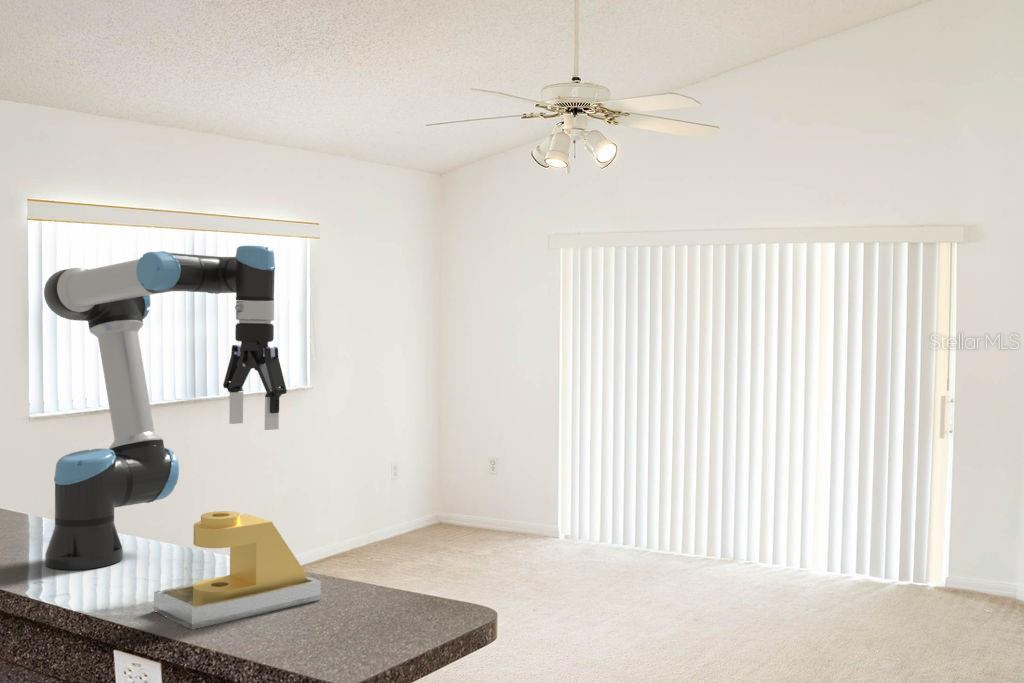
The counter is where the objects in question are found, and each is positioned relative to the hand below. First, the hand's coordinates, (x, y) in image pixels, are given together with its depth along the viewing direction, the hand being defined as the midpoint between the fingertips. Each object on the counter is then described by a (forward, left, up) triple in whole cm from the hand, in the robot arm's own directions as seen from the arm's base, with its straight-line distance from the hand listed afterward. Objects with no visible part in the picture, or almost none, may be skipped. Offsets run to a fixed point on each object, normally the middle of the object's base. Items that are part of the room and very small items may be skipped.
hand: (253, 426), depth 195 cm
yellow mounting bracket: (+16, -11, -30) cm, 35 cm away
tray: (+16, -12, -31) cm, 37 cm away
